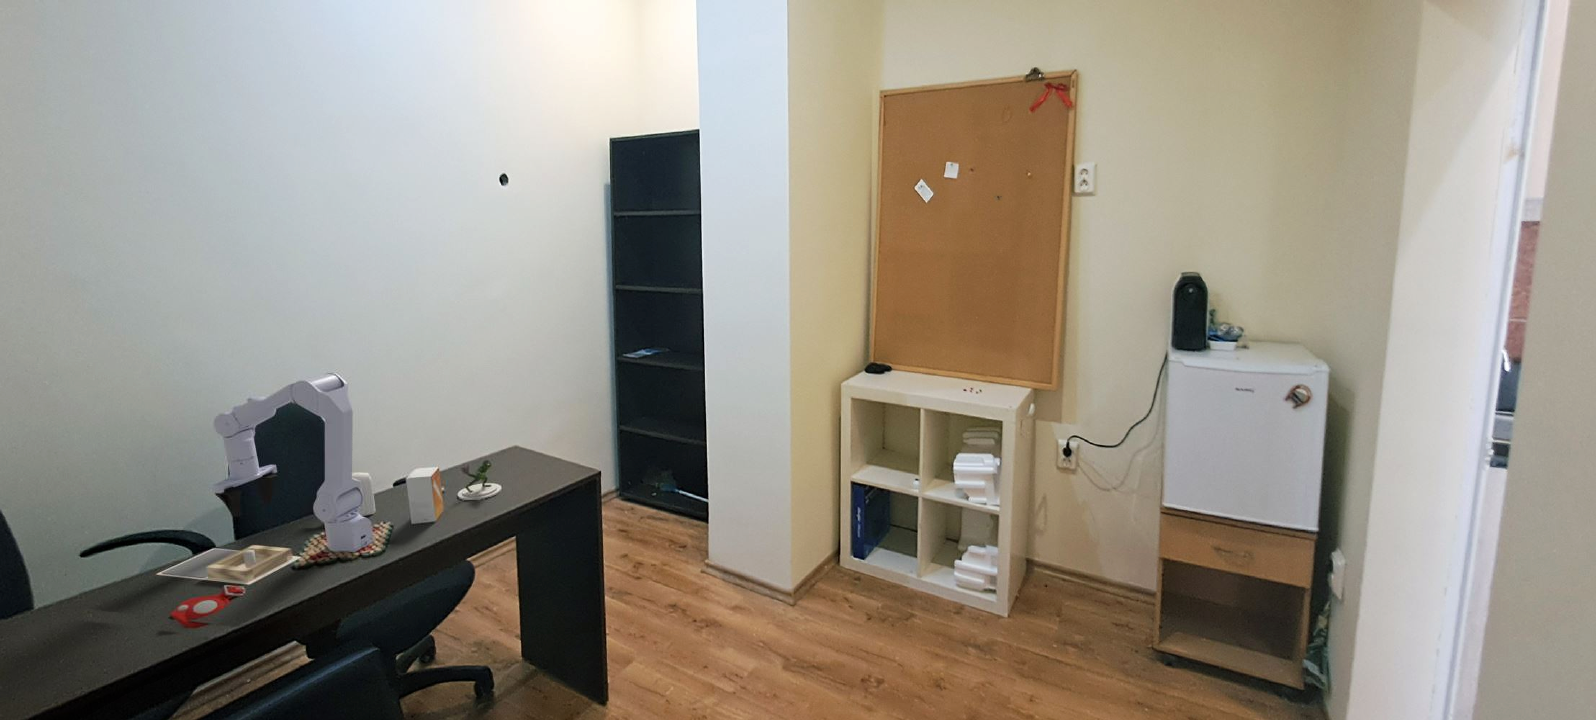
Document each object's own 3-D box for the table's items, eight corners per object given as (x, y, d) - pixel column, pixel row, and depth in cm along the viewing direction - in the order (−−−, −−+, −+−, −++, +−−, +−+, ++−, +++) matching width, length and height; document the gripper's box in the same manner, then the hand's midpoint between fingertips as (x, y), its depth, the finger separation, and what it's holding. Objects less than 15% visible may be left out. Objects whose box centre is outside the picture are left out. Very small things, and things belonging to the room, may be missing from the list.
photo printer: (375, 509, 196) (369, 467, 193) (376, 514, 192) (370, 472, 190) (332, 518, 190) (325, 475, 188) (332, 523, 186) (325, 480, 184)
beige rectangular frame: (292, 558, 164) (291, 548, 163) (248, 581, 153) (246, 571, 153) (254, 554, 166) (253, 545, 165) (208, 577, 155) (206, 567, 155)
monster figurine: (498, 498, 202) (495, 465, 200) (454, 503, 199) (450, 469, 197) (504, 483, 214) (500, 452, 212) (462, 488, 210) (458, 456, 208)
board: (302, 562, 165) (299, 541, 163) (250, 590, 152) (246, 567, 151) (214, 553, 170) (210, 533, 169) (157, 580, 157) (152, 558, 156)
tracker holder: (217, 622, 138) (159, 618, 136) (218, 638, 140) (160, 634, 137) (251, 580, 149) (197, 575, 147) (251, 595, 151) (198, 591, 148)
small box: (436, 521, 187) (431, 476, 184) (411, 524, 185) (405, 478, 183) (444, 510, 194) (439, 466, 192) (420, 512, 193) (414, 468, 190)
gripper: (257, 447, 177) (266, 497, 180) (198, 467, 163) (209, 520, 166) (279, 449, 175) (288, 499, 178) (222, 468, 162) (232, 522, 164)
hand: (251, 509), depth 172 cm, fingers open, 7 cm apart
